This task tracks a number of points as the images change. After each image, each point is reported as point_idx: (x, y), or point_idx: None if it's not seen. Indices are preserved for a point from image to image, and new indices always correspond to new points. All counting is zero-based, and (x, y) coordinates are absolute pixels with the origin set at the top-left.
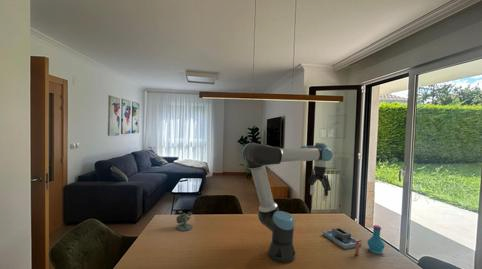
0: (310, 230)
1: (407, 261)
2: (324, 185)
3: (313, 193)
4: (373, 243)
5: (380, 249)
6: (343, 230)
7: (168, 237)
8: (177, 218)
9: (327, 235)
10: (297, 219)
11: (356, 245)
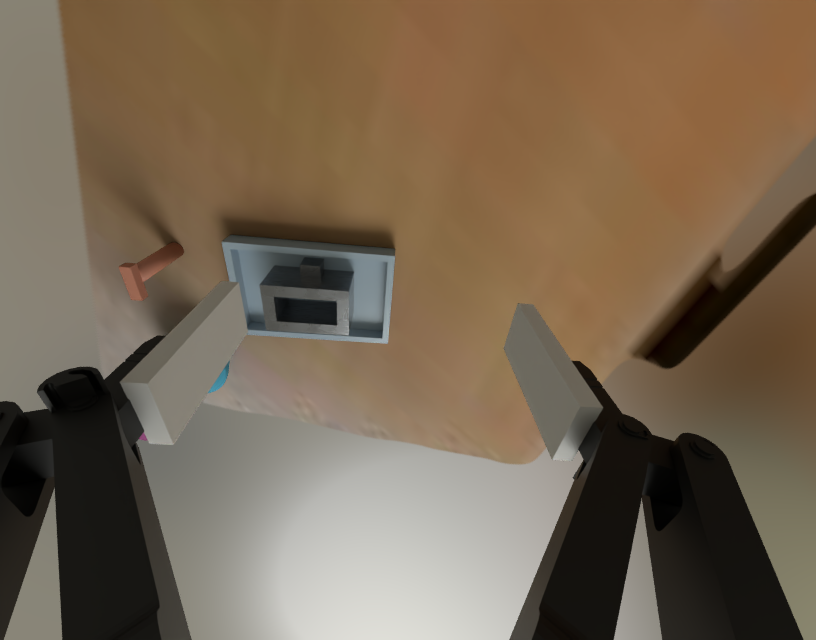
0: (464, 221)
1: None
2: (62, 507)
3: (509, 352)
4: None
5: None
6: (312, 327)
7: None
8: None
9: (357, 250)
10: (613, 254)
11: (143, 260)
